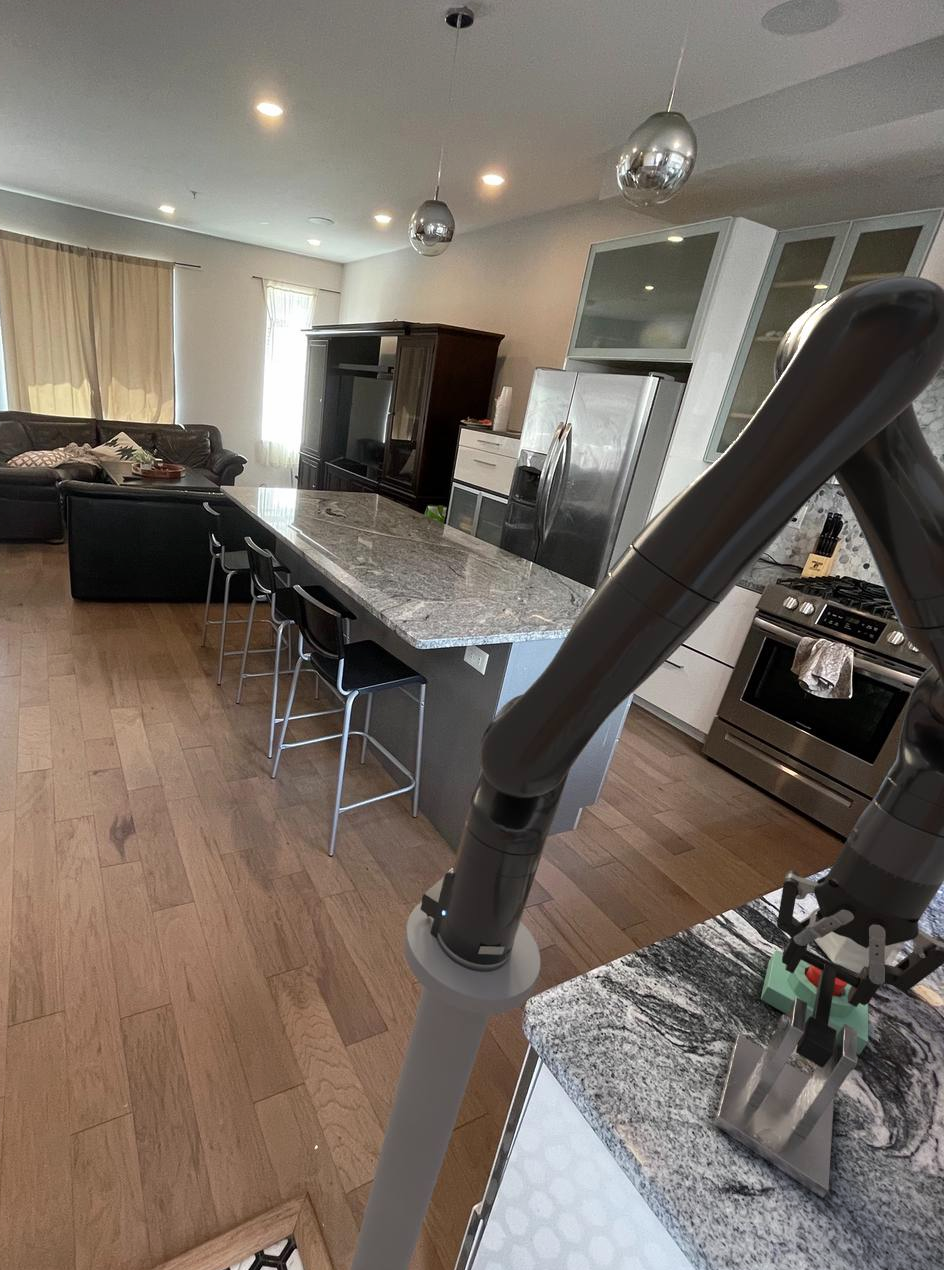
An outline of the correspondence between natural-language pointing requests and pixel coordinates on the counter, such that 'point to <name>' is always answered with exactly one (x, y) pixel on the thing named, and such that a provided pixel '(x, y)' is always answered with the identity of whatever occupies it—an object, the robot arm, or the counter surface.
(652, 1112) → the counter surface
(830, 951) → the jar
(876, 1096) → the counter surface
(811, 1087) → the bracket
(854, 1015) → the button block
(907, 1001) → the counter surface
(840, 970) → the lever
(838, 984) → the button
